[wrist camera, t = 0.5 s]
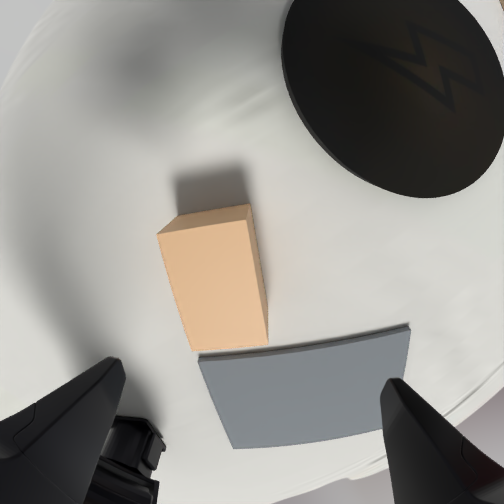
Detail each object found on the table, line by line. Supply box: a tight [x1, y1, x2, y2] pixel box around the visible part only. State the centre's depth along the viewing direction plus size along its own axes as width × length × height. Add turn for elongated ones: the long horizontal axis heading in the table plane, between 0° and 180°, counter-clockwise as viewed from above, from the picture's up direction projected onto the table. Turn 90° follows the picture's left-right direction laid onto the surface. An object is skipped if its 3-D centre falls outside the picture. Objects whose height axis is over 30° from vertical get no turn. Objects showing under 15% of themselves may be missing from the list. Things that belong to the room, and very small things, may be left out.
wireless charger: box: [281, 0, 504, 198], centre depth 15 cm, size 18×18×2 cm
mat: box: [198, 326, 411, 449], centre depth 25 cm, size 18×14×1 cm
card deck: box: [156, 204, 268, 351], centre depth 19 cm, size 5×8×4 cm, turn 9°
